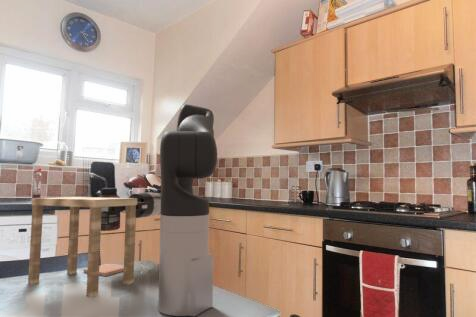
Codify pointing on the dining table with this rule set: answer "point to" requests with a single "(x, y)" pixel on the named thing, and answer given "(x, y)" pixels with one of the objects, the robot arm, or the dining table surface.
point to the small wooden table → (94, 236)
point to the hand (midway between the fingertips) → (101, 208)
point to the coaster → (108, 269)
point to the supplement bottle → (108, 218)
